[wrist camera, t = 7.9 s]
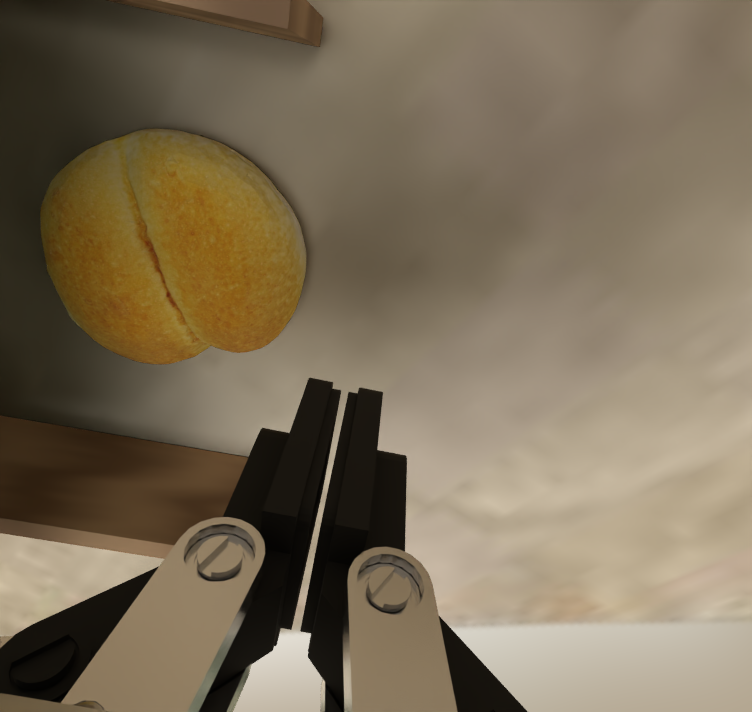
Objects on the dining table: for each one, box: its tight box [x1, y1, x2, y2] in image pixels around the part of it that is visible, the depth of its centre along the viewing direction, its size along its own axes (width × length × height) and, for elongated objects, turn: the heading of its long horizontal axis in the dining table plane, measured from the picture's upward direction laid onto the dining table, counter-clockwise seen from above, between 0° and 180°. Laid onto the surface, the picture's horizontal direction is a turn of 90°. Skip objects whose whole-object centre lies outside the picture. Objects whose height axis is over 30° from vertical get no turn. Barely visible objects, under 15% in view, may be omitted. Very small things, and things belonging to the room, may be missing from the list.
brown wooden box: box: [0, 0, 323, 559], centre depth 17 cm, size 16×19×6 cm
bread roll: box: [40, 129, 306, 364], centre depth 18 cm, size 8×9×4 cm
